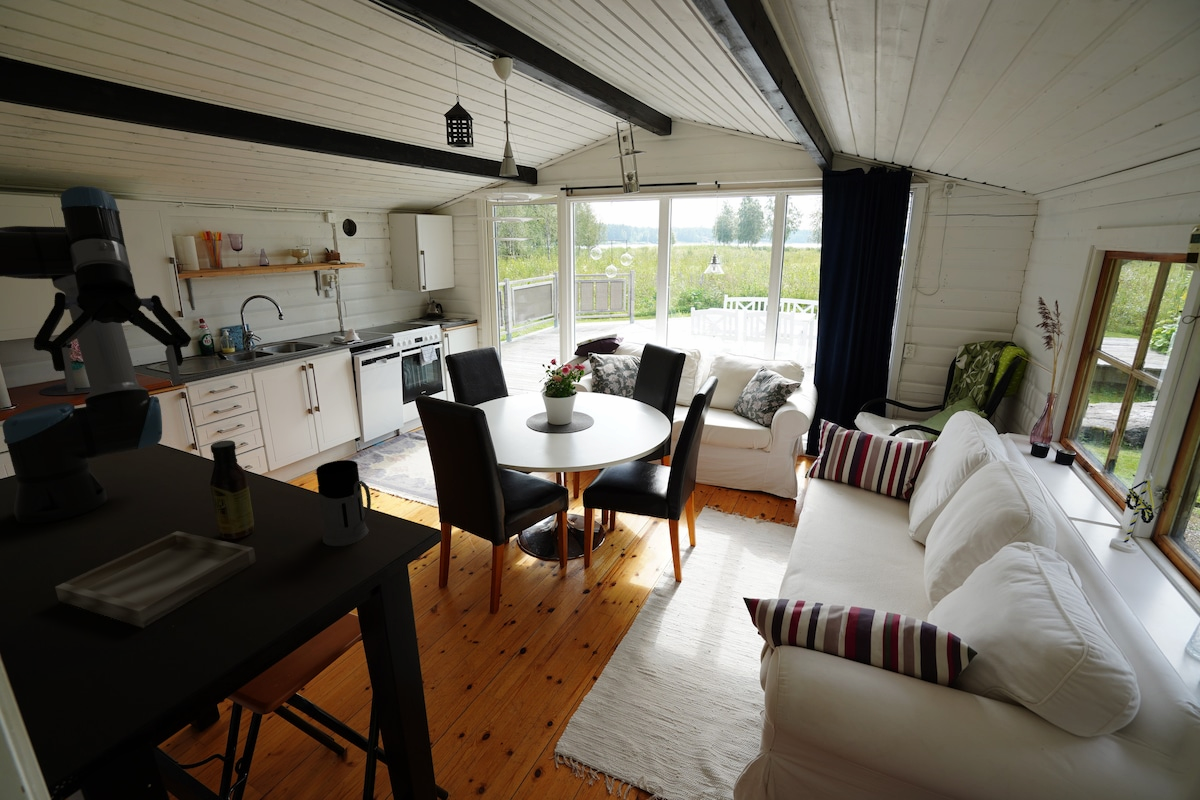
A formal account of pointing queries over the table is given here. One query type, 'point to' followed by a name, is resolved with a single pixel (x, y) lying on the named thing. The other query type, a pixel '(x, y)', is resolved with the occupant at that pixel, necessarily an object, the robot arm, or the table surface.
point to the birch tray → (156, 577)
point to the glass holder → (342, 503)
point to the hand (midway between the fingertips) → (126, 385)
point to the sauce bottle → (230, 493)
